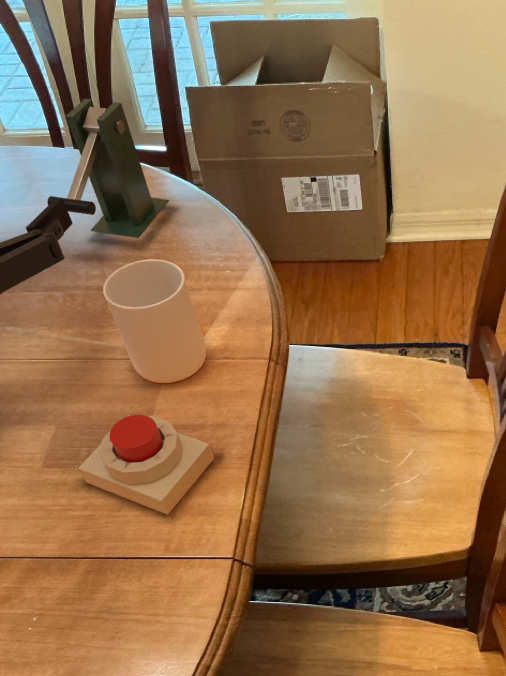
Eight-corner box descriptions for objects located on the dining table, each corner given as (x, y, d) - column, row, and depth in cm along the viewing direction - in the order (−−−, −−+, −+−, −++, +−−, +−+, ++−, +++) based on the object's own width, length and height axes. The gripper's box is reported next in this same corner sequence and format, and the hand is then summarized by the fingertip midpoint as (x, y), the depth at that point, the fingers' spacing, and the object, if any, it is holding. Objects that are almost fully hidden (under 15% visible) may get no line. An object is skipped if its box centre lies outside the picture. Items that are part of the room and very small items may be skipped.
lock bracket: (141, 246, 100) (101, 130, 88) (93, 239, 101) (47, 124, 89) (171, 208, 105) (137, 94, 93) (125, 202, 106) (86, 88, 94)
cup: (132, 389, 84) (99, 313, 76) (137, 320, 91) (107, 244, 83) (208, 379, 85) (184, 302, 76) (207, 312, 92) (185, 234, 83)
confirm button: (107, 454, 74) (99, 439, 72) (135, 424, 76) (128, 409, 74) (144, 468, 72) (137, 453, 71) (171, 437, 75) (165, 422, 73)
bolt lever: (95, 219, 91) (84, 207, 89) (55, 214, 92) (43, 201, 90) (127, 124, 93) (117, 109, 91) (87, 119, 94) (76, 104, 92)
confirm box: (85, 482, 76) (70, 455, 73) (135, 429, 81) (122, 401, 77) (168, 515, 74) (155, 488, 70) (214, 458, 78) (205, 430, 75)
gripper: (-208, 352, 73) (-78, 244, 86) (31, 360, 68) (126, 245, 82) (-264, 279, 67) (-117, 176, 81) (-9, 283, 63) (101, 174, 77)
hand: (6, 210), depth 82 cm, fingers open, 13 cm apart
